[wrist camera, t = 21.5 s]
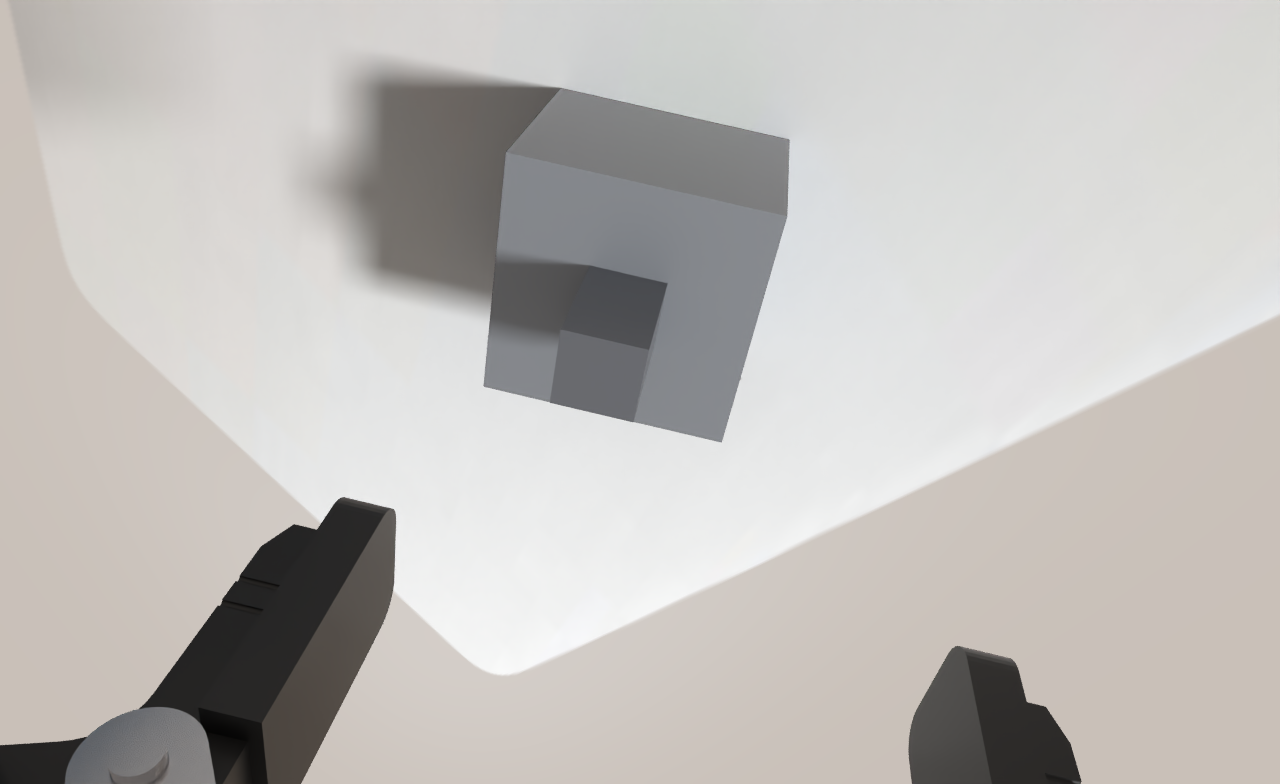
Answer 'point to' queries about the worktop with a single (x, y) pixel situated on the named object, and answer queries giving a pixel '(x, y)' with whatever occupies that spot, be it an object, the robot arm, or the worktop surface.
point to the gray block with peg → (633, 261)
